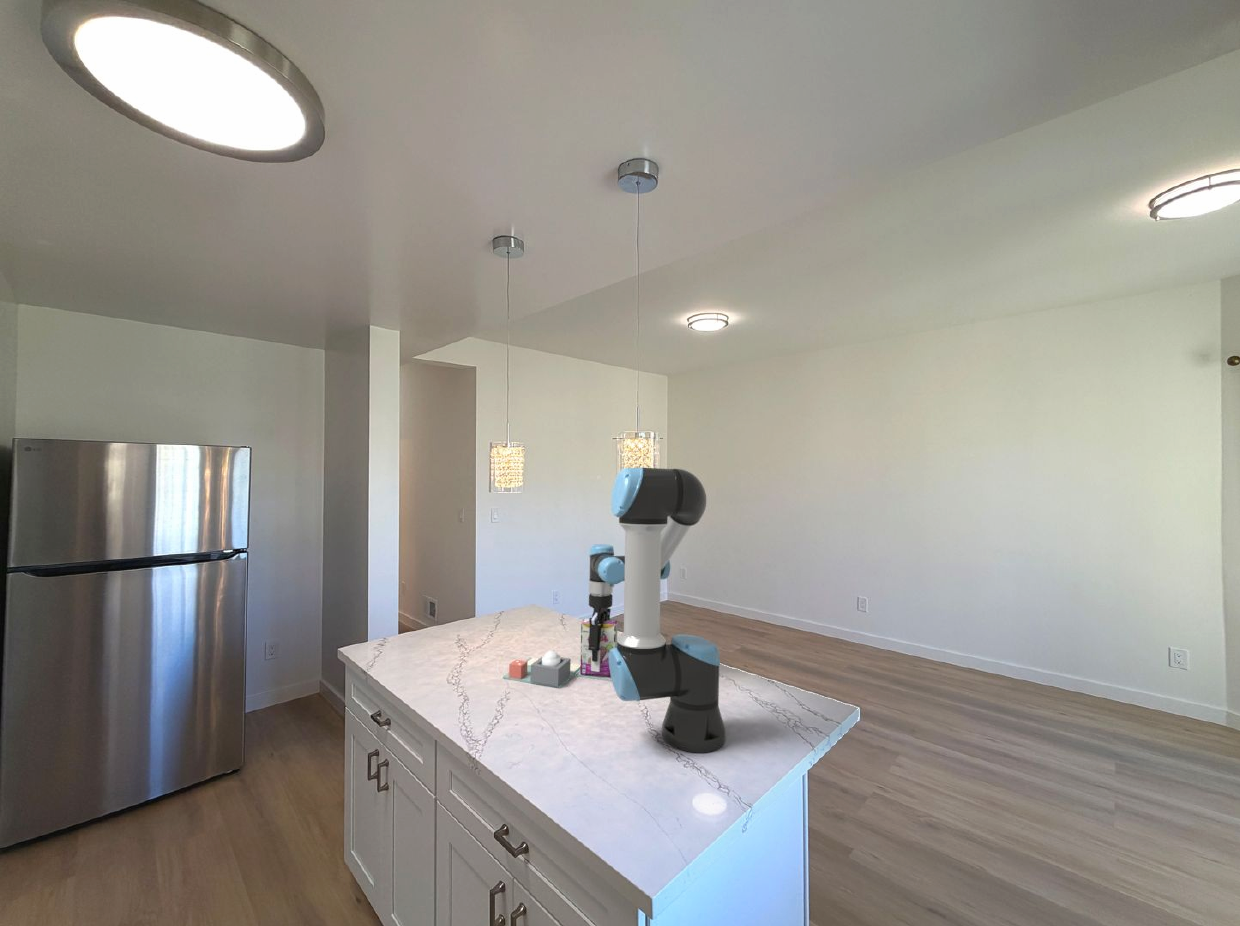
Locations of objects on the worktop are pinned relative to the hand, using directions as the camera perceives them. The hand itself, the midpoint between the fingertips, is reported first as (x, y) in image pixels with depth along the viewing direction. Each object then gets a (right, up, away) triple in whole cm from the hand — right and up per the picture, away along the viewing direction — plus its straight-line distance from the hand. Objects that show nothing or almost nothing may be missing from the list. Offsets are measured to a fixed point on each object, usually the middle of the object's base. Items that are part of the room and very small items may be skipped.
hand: (598, 667), depth 157 cm
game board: (-17, -2, 0) cm, 18 cm away
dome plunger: (-14, +1, -6) cm, 16 cm away
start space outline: (0, -2, 0) cm, 2 cm away
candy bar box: (0, -2, 0) cm, 2 cm away
